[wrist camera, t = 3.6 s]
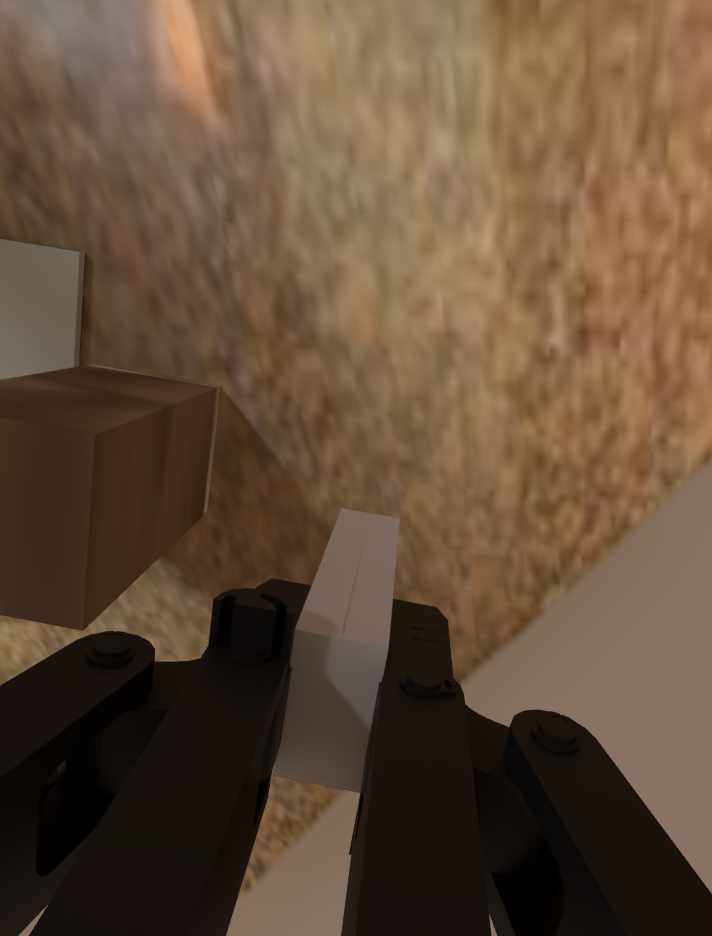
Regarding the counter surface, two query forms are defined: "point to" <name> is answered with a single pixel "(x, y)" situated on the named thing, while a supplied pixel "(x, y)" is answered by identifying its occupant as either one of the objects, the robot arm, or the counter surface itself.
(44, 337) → the mat
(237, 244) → the counter surface
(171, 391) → the block
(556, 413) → the counter surface
